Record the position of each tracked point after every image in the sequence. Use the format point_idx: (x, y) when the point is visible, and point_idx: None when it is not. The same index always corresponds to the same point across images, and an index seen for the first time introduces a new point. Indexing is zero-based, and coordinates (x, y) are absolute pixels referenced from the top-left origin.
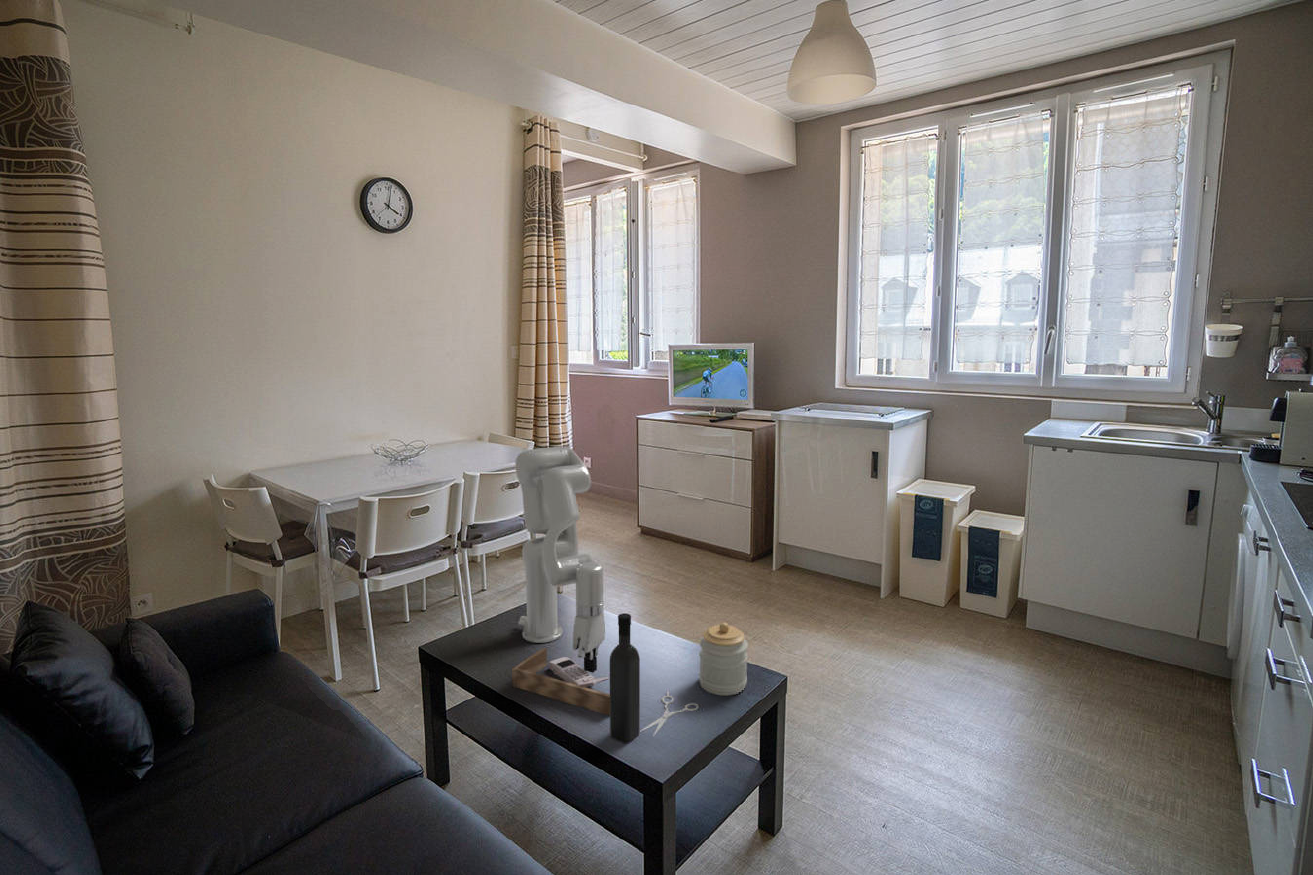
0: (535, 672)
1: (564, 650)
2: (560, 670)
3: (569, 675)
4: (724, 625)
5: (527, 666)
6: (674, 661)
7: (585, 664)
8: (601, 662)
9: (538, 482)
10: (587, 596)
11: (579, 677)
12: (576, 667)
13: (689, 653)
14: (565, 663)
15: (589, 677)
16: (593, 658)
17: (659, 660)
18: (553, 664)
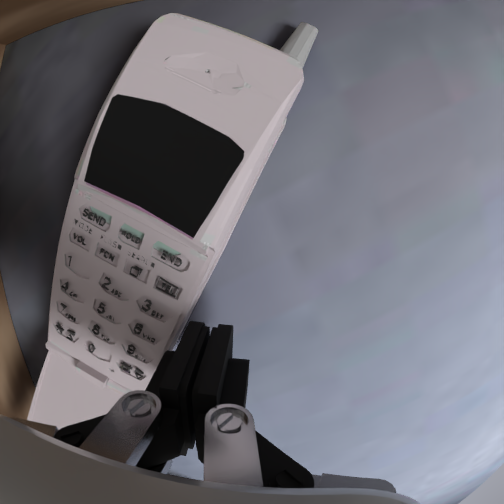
0: (111, 6)
1: (449, 23)
2: (77, 178)
3: (63, 274)
4: None
5: (13, 3)
6: (427, 487)
7: (156, 371)
8: (402, 314)
9: None
10: None
11: (86, 338)
12: (168, 267)
13: (468, 481)
14: (154, 161)
15: (123, 384)
16: (182, 449)
17: (434, 467)
18: (121, 73)
